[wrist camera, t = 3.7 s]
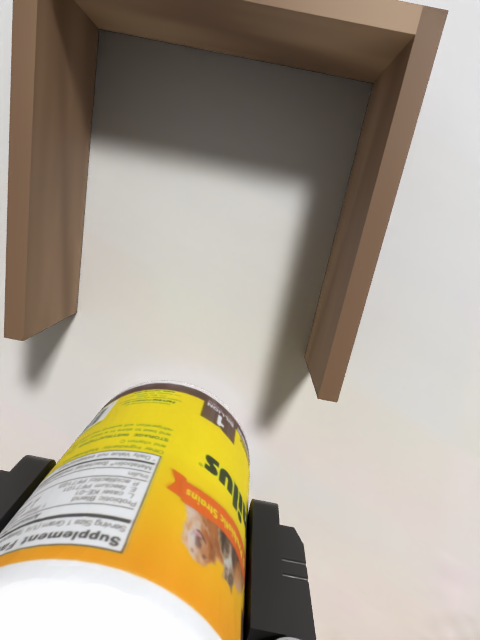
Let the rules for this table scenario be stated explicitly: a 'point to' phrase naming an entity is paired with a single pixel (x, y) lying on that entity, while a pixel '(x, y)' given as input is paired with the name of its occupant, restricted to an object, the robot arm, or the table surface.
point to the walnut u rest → (228, 38)
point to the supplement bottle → (135, 527)
